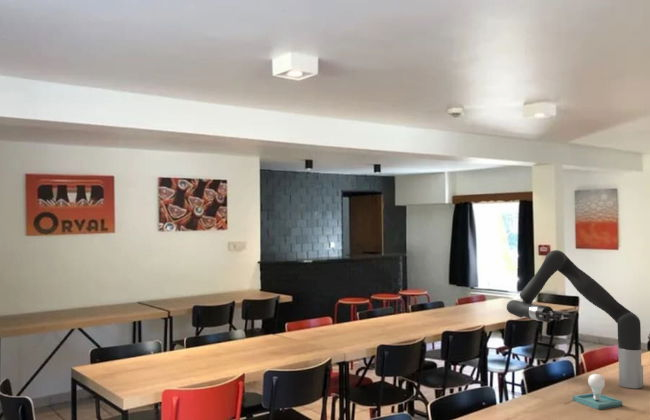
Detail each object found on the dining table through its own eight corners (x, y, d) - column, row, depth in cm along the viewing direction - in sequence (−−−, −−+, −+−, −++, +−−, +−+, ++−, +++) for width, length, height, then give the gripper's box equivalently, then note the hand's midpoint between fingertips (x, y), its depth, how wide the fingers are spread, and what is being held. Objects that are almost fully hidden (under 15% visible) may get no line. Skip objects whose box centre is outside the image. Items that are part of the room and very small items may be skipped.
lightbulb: (603, 399, 235) (603, 372, 235) (606, 403, 229) (606, 376, 229) (587, 397, 237) (586, 371, 237) (589, 402, 230) (589, 375, 231)
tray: (596, 397, 241) (595, 392, 241) (622, 405, 229) (622, 400, 229) (573, 400, 236) (572, 395, 236) (598, 409, 224) (598, 404, 224)
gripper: (529, 306, 267) (555, 310, 252) (552, 304, 272) (579, 308, 257) (529, 321, 266) (555, 327, 251) (552, 320, 272) (579, 325, 257)
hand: (567, 317), depth 254 cm, fingers open, 8 cm apart
